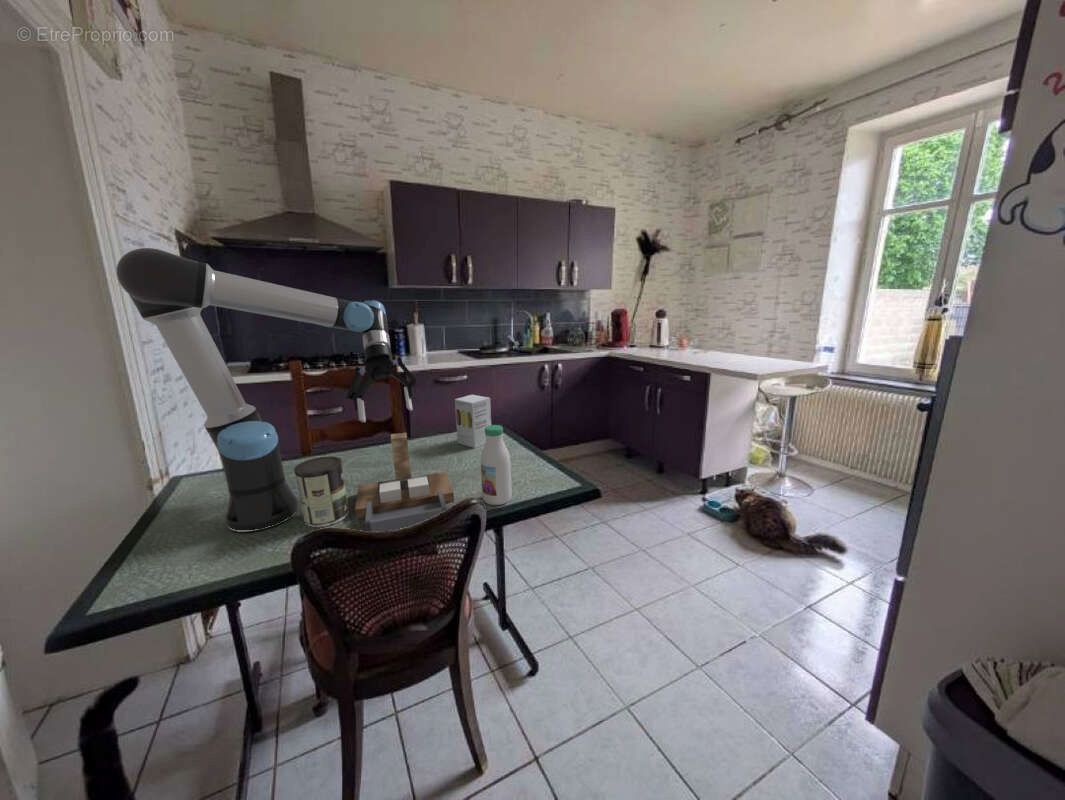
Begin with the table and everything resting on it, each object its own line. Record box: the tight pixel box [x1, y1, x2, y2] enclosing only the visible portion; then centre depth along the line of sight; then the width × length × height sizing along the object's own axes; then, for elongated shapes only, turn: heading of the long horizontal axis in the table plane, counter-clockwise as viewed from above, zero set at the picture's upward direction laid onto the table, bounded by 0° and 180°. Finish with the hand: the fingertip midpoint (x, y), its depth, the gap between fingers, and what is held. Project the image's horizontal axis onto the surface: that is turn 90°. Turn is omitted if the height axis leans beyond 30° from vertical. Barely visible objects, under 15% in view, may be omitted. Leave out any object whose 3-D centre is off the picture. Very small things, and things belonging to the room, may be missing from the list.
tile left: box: [379, 481, 402, 503], centre depth 106 cm, size 5×5×3 cm
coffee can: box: [293, 456, 350, 529], centre depth 101 cm, size 10×10×14 cm
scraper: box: [377, 432, 429, 491], centre depth 111 cm, size 13×6×14 cm, turn 109°
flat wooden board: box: [354, 471, 455, 520], centre depth 111 cm, size 24×14×2 cm, turn 109°
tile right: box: [408, 477, 430, 498], centre depth 108 cm, size 5×5×3 cm
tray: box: [364, 489, 448, 531], centre depth 99 cm, size 18×11×4 cm, turn 109°
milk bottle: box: [480, 424, 513, 506], centre depth 106 cm, size 8×8×20 cm
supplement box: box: [454, 394, 492, 449], centre depth 149 cm, size 10×9×17 cm
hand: (386, 415), depth 115 cm, fingers open, 13 cm apart
